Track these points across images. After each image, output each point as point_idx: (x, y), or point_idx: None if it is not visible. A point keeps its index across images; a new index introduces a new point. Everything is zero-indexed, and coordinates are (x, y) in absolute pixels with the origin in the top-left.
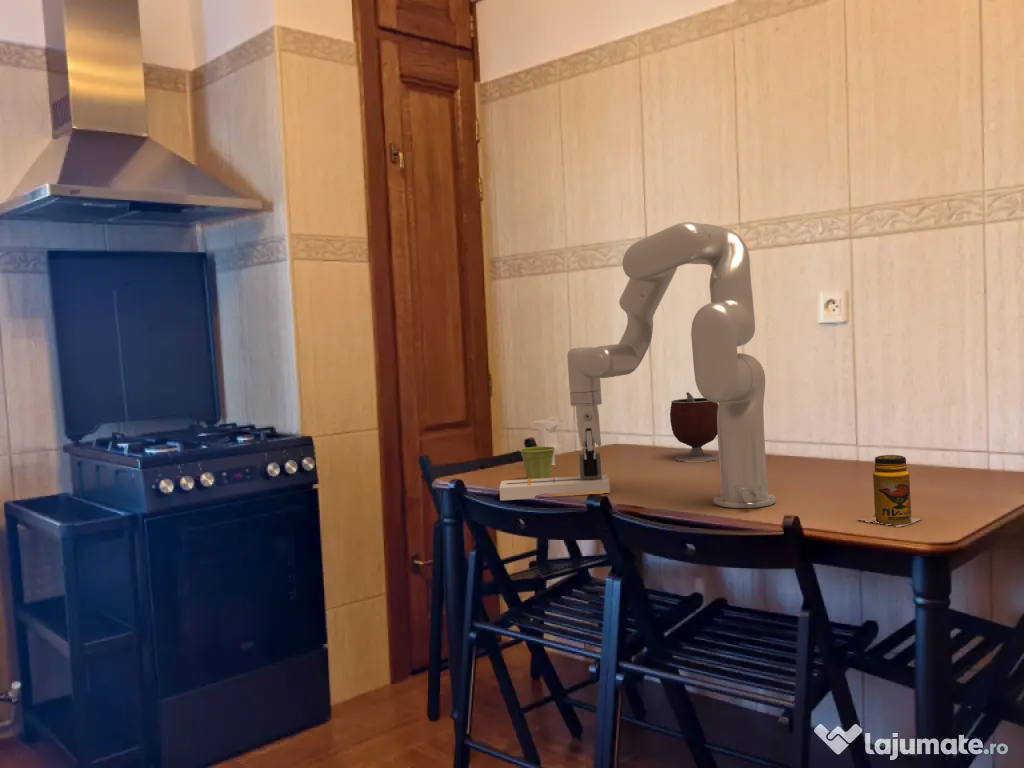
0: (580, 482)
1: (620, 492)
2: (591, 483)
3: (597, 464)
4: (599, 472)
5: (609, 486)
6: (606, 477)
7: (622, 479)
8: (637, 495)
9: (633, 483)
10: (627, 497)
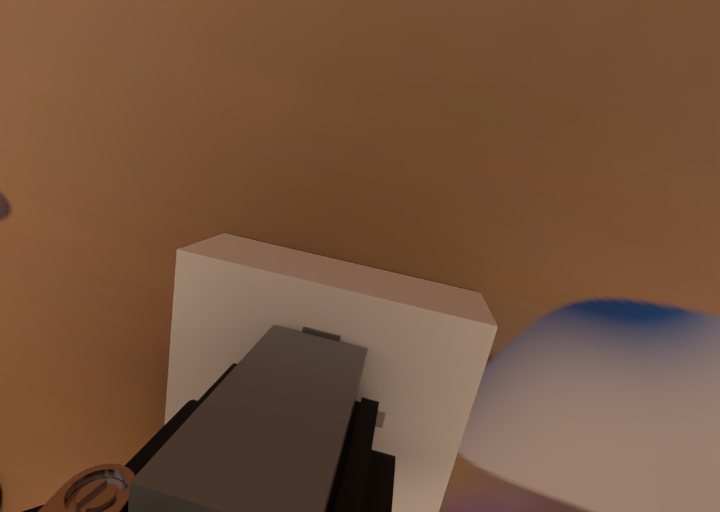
0: (416, 501)
1: (464, 217)
2: (458, 440)
3: (340, 452)
4: (357, 387)
5: (488, 311)
6: (312, 291)
7: (20, 67)
8: (648, 142)
9: (186, 35)
10: (672, 229)
